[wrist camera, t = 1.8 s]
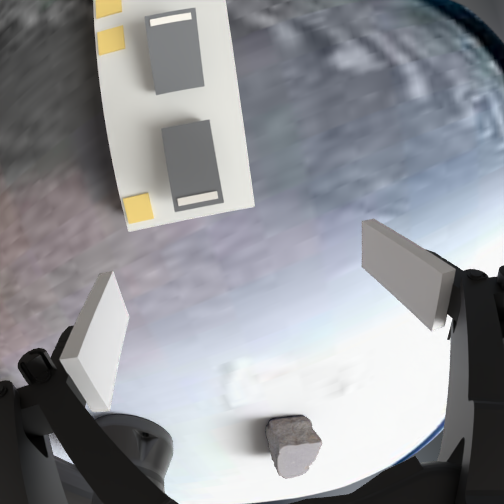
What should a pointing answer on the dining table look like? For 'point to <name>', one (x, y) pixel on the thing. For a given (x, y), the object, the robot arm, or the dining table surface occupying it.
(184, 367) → the dining table surface
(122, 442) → the robot arm
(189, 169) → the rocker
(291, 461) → the decorative stone
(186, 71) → the rocker middle
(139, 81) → the switch console
